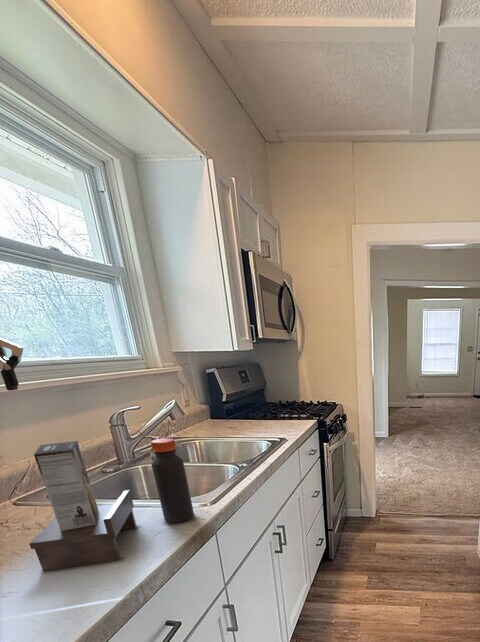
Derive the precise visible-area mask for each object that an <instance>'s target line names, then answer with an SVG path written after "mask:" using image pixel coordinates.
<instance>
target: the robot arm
mask: <svg viewBox="0 0 480 642" xmlns="http://www.w3.org/2000/svg"><path fill="white" fill-rule="evenodd" d="M6 349H8V350H10V351H11V353H10V354H11V355H10V356H9V357H8V358H7V356H8V353H7V350H6ZM23 352H24V347H23V346H21V345H19V344H17V343H14V342H11V341H9V340H7V339H4V338H2V337H1V336H0V368H1V370H0V374H1V377H2V380H3V383H4V386H5V388H6V390H7V391H10V392H11V391H16V390H18V389H19V387H18V386H19V385H20V384H19V380H18V377H17V374H16V371H15V370H16V369H17V366H18V364H19V363H20V362H21V361H22V356H23Z"/></svg>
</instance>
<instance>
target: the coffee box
mask: <svg viewBox="0 0 480 642" xmlns="http://www.w3.org/2000/svg"><path fill="white" fill-rule="evenodd" d="M33 456H34V459H35V462H36V465H37V467H38V471H39V473H40V476H41V479H42V482H43V485H44V487H45V490H46V493H47V496H48V499H49V501H50V505H51V507H52V510H53V513H54V516H55V517H56V519H57V522H58V524H59V527H60V530H61V531H66V530H71V529H76V528H82V527H87V526H92V525H97V521H98V511H99V510H98V507H97V506H98V504H97V500H96V498H95V494H94V491H93V488H92V485H91V482H90V479H89V475H88V472H87V469H86V465H85V462H84V459H83V455H82V452H81V449H80V445H79V441H78V440H73V441H65V442H55V443H45V444H40V445H39V447H38V448H37V449H36V451H35V452H34V453H33Z"/></svg>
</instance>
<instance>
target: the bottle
mask: <svg viewBox="0 0 480 642" xmlns="http://www.w3.org/2000/svg"><path fill="white" fill-rule="evenodd" d="M150 445H151V449H152V452H153V454H154V455H155V457H154V458H153V460H152V461H151V469H152V473H153V477H154V481H155V485H156V489H157V493H158V498H159V502H160V507H161V510H162V514H163V519H164V521H165V523H168V524H181V523H186V522H188V521H190V520H192V519H193V518H194V517H195V512H194V508H193V507H194V506H193V503H192V497H191V493H190V487H189V483H188V478H187V473H186V468H185V464H184V460H183V458H182V457H180V456H179V455H177V453H176V451H177V447H176V442H175V439H173V438H169V437H168V438H167V437H166V438H158V439H154V440H151V441H150Z"/></svg>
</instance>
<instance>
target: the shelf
mask: <svg viewBox="0 0 480 642" xmlns="http://www.w3.org/2000/svg"><path fill="white" fill-rule="evenodd" d="M97 507H98V510H99V511H98V521H97V525H92V526H87V527H82V528H76V529H71V530H66V531H61V530H60V527H59V524H58V522H57V519H56V516H55V517H54V518H53V519H52V520H51V521H50V522H49V523H48V524H47V525H46V526H45V527H44V528H43V529H42V530H41V531H40V532H39V533H38V534H37V535H36V536H35V537H34V538H33V539H32V540H31V541H30V542H29V547H30V550H34V551H35V554H36V556H37V559H38V561H39V565H40V567H41V569H42V571H43V572H48V571H54V570H61V569H62V570H63V569H68V568H74V567H82V566H88V565H94V564H101V563H107V562H115V561H120V560H121V554H120V549H119V547H118V544H117V541H116V538H117V536H118V535H119V533H120V531H121V530H127V529H135V528H137V522H136V518H135V513H134V507H135V505H134V501H133V496H132V492H131V490H130V489H125V490H123V491H122V492H121V494H120V496H118V498H117V500H116V501H115V502H114V503H110V504H109V503H108V504H102V505H101V504H100V505H97Z"/></svg>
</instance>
